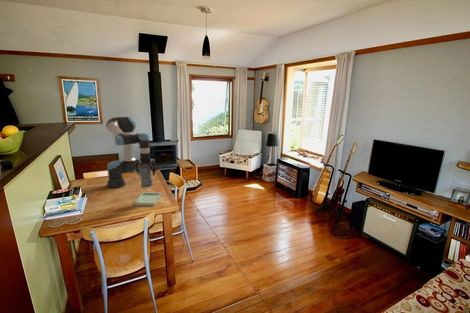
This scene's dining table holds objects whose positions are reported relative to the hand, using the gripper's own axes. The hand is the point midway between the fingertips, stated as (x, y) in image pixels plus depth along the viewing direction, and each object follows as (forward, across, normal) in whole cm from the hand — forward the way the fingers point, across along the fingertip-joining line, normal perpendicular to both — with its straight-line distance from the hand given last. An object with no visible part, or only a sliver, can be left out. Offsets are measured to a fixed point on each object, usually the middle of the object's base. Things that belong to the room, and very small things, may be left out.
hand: (146, 179), depth 196 cm
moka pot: (+6, 0, 0) cm, 6 cm away
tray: (+19, 0, 0) cm, 19 cm away
